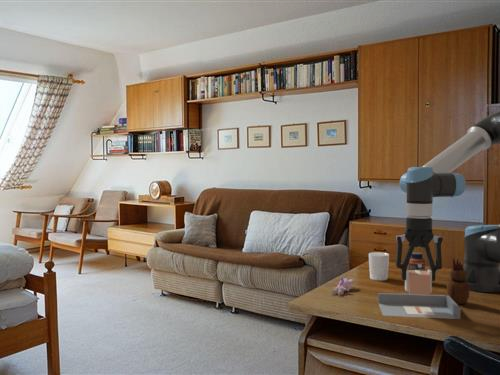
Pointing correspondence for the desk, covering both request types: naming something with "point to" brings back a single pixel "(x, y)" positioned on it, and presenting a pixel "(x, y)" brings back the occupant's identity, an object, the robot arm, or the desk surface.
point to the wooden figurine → (458, 284)
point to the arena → (418, 305)
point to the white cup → (378, 265)
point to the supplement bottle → (417, 262)
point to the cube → (419, 282)
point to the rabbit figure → (342, 286)
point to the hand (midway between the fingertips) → (418, 290)
